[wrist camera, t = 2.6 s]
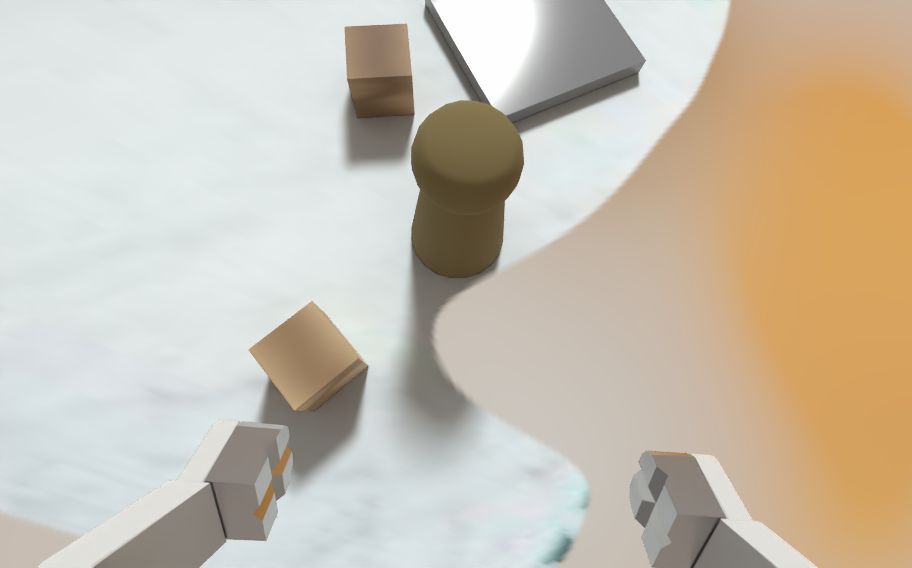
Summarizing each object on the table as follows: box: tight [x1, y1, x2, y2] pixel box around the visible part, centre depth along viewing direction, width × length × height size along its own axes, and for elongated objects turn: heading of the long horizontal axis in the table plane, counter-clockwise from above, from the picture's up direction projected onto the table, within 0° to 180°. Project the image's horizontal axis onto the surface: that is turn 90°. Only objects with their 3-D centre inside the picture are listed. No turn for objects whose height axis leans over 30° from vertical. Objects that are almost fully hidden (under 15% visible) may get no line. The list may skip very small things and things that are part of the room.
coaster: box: [425, 0, 646, 123], centre depth 34 cm, size 12×12×1 cm
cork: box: [411, 101, 524, 278], centre depth 25 cm, size 6×6×11 cm
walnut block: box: [345, 24, 414, 118], centre depth 31 cm, size 4×4×4 cm
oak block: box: [249, 301, 368, 412], centre depth 26 cm, size 4×4×4 cm
